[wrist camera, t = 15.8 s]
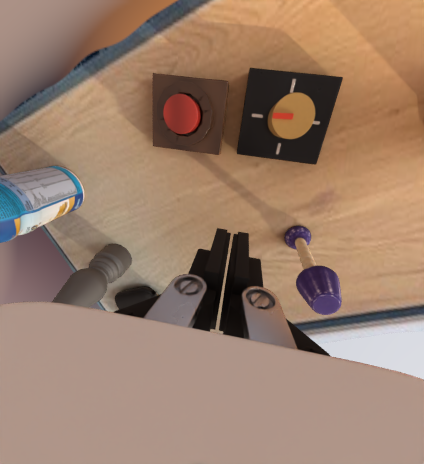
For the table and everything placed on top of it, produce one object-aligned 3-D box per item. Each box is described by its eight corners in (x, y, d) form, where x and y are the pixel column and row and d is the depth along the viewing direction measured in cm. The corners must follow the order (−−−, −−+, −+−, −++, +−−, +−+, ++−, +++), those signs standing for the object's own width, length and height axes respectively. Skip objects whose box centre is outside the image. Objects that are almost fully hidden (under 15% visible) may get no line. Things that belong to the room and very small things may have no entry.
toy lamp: (279, 246, 39) (300, 320, 24) (283, 222, 37) (307, 285, 22) (308, 248, 38) (347, 325, 23) (313, 223, 36) (359, 289, 21)
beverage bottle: (84, 168, 38) (-64, 203, 20) (89, 213, 41) (-31, 277, 23) (38, 160, 38) (-144, 187, 20) (48, 206, 42) (-100, 262, 24)
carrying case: (184, 330, 51) (157, 280, 46) (180, 341, 48) (151, 289, 43) (145, 336, 54) (115, 289, 49) (139, 347, 51) (108, 299, 46)
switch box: (229, 84, 30) (226, 77, 26) (220, 153, 34) (217, 156, 30) (158, 76, 30) (146, 69, 27) (157, 145, 34) (147, 147, 31)
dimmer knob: (306, 100, 27) (321, 92, 22) (298, 138, 29) (310, 140, 24) (270, 98, 28) (276, 91, 22) (265, 136, 29) (269, 137, 24)
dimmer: (335, 81, 28) (343, 76, 26) (311, 162, 32) (316, 164, 30) (249, 72, 29) (249, 67, 26) (237, 152, 33) (236, 154, 31)
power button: (202, 97, 28) (199, 95, 26) (199, 135, 30) (196, 136, 28) (168, 94, 28) (163, 91, 26) (167, 131, 30) (162, 131, 28)
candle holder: (121, 240, 43) (-16, 360, 20) (137, 265, 45) (28, 400, 23) (97, 248, 45) (-55, 367, 22) (113, 272, 47) (-11, 404, 24)
